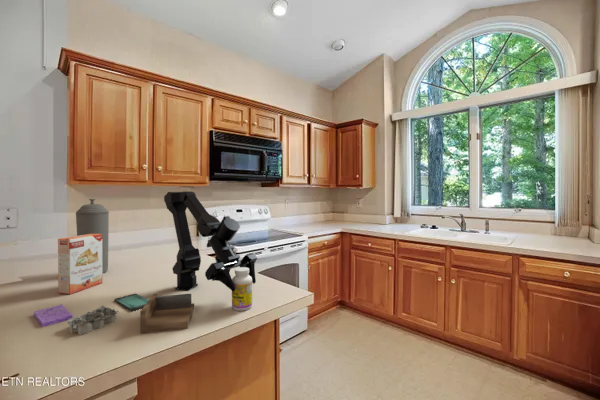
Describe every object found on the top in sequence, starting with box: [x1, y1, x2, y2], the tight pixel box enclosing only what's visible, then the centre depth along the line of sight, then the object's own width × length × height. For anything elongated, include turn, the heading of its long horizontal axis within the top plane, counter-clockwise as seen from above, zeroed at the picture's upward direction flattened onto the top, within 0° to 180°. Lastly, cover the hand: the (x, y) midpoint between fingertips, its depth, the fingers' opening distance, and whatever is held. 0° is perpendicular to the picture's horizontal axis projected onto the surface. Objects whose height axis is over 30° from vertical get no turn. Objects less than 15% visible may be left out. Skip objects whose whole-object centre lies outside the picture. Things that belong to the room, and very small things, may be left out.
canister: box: [75, 198, 110, 274], centre depth 132 cm, size 13×13×35 cm
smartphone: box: [113, 293, 150, 312], centre depth 97 cm, size 7×1×15 cm
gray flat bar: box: [156, 293, 193, 311], centre depth 88 cm, size 1×10×4 cm, turn 103°
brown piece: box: [139, 293, 195, 334], centre depth 84 cm, size 13×12×6 cm
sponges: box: [33, 304, 74, 328], centre depth 86 cm, size 7×13×2 cm, turn 52°
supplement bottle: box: [231, 266, 253, 312], centre depth 93 cm, size 7×7×13 cm
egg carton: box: [66, 305, 119, 336], centre depth 81 cm, size 11×8×4 cm
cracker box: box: [57, 234, 103, 295], centre depth 112 cm, size 14×6×21 cm, turn 168°
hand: (244, 286), depth 92 cm, fingers open, 9 cm apart
